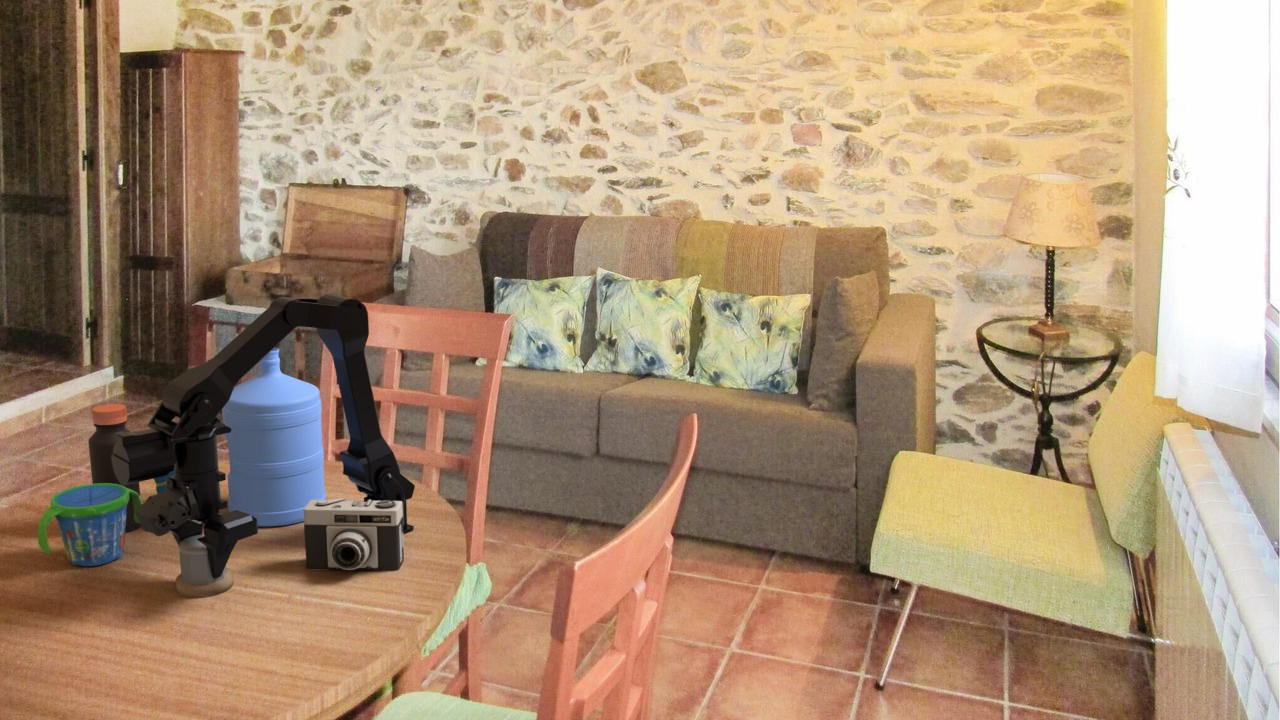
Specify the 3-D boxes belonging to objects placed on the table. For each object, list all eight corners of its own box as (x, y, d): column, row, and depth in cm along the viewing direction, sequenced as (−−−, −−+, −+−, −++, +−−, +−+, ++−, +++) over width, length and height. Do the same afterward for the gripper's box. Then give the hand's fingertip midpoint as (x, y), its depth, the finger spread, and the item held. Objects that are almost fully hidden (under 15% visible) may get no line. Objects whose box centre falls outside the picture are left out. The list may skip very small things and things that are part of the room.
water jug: (345, 507, 190) (339, 347, 184) (271, 535, 177) (261, 365, 171) (284, 489, 198) (275, 335, 192) (209, 515, 185) (197, 351, 179)
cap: (210, 564, 162) (208, 531, 161) (235, 574, 159) (233, 540, 158) (173, 577, 158) (170, 543, 156) (197, 589, 154) (195, 554, 153)
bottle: (144, 517, 184) (134, 400, 179) (140, 532, 178) (130, 411, 173) (99, 521, 182) (88, 403, 177) (93, 536, 176) (82, 414, 171)
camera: (297, 580, 161) (293, 515, 159) (313, 557, 169) (310, 495, 167) (393, 581, 162) (391, 517, 159) (405, 559, 170) (403, 497, 167)
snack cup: (57, 584, 158) (50, 517, 156) (27, 564, 165) (19, 499, 163) (163, 552, 170) (158, 489, 168) (130, 534, 177) (125, 474, 174)
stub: (212, 570, 164) (210, 537, 163) (244, 584, 160) (242, 549, 158) (165, 588, 158) (162, 553, 157) (197, 602, 154) (194, 566, 152)
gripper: (104, 469, 153) (114, 574, 157) (183, 498, 143) (192, 610, 147) (177, 449, 162) (185, 549, 166) (257, 476, 152) (263, 582, 155)
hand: (204, 572), depth 158 cm, fingers closed on cap, 6 cm apart
